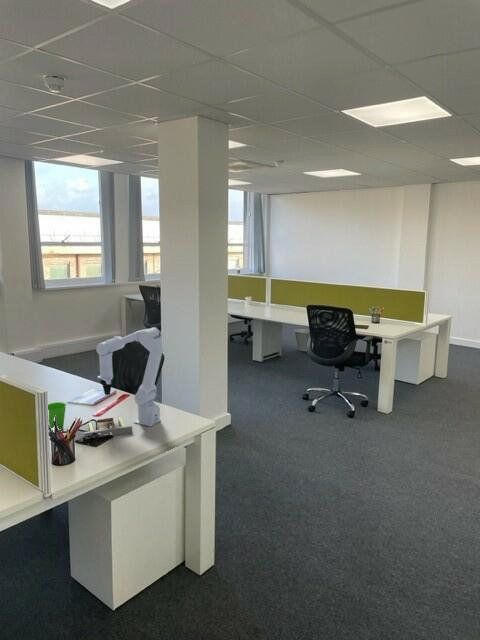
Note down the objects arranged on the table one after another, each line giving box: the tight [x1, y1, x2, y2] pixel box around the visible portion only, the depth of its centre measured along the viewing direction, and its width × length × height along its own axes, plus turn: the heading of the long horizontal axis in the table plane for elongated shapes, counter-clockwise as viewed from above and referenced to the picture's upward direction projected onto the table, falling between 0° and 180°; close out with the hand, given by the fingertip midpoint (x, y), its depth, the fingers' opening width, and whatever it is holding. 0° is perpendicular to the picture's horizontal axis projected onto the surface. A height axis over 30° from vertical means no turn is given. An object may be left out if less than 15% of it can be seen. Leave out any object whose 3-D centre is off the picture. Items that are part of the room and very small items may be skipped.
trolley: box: [96, 417, 117, 430], centre depth 209 cm, size 10×7×4 cm
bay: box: [83, 417, 133, 438], centre depth 209 cm, size 14×20×3 cm
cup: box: [47, 401, 67, 430], centre depth 209 cm, size 9×9×11 cm
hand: (107, 394), depth 225 cm, fingers closed
